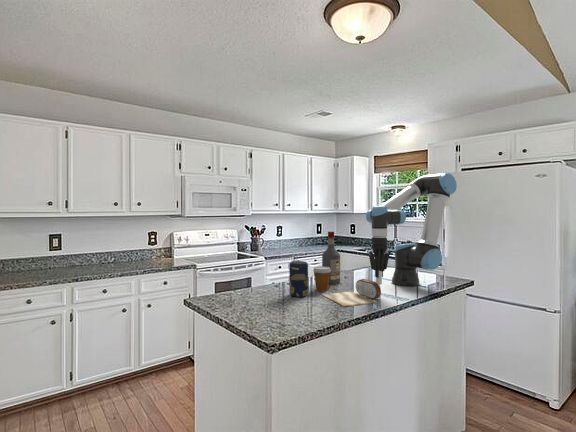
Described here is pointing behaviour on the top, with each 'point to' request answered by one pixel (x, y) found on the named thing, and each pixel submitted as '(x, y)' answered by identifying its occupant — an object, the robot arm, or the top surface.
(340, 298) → the oak board
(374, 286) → the tin
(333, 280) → the liquor
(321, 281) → the disposable coffee cup
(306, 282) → the canister
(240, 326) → the top surface
